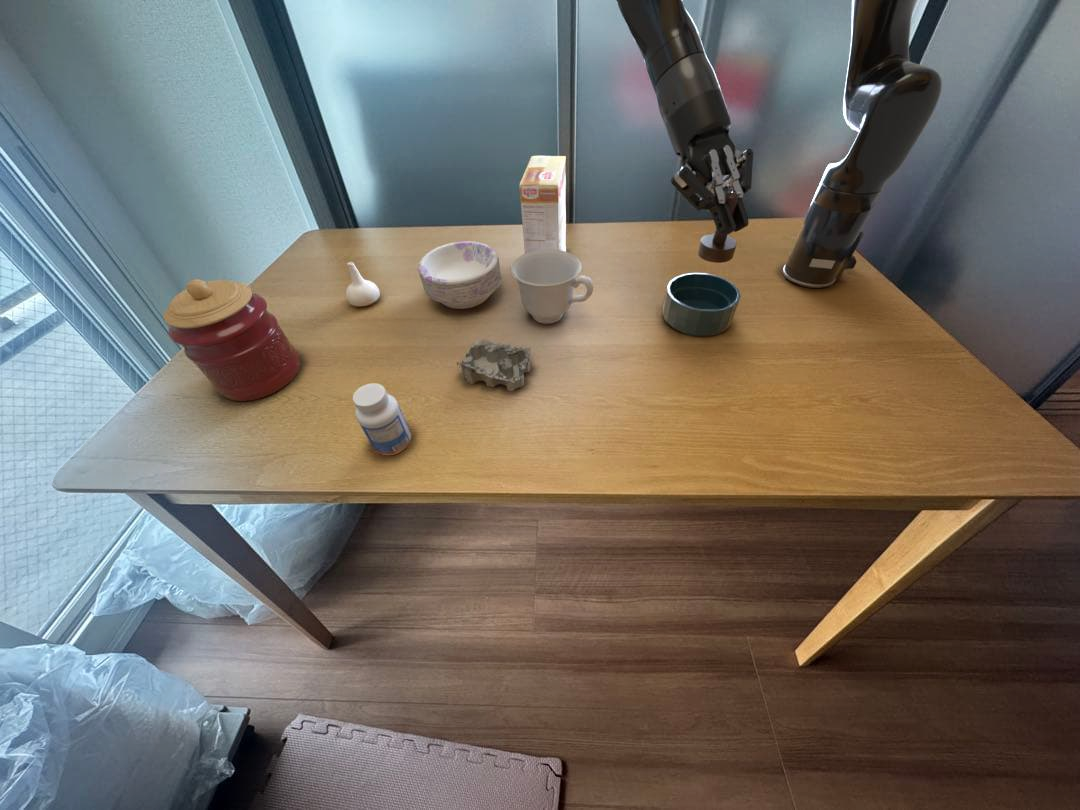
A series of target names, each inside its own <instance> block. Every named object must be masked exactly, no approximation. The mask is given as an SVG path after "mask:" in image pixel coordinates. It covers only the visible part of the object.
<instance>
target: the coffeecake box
mask: <svg viewBox="0 0 1080 810" xmlns="http://www.w3.org/2000/svg"><path fill="white" fill-rule="evenodd" d="M566 160H567V156H566V155H532V156H530V159H529V161H528V163H527V166H526V167H525V171H524V173H523V175H522V177H521V180H520V182H519V184H518V187H519V197H520V198H519V200H520V209H521V221H522V233H523V247H524V248H523V249H524V254H525V253H528V252H531V251H535V250H542V249H555V250H561V251H565V252H567V246H566V245H567V239H566V238H567V235H566V234H567V233H566V232H567V211H566V209H567V208H566V201H567V199H566V196H567V194H566V189H567V183H566V182H567V181H566V180H567V179H566V178H567V177H566V176H567V173H566V169H567V168H566Z"/></svg>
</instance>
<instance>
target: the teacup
mask: <svg viewBox="0 0 1080 810" xmlns="http://www.w3.org/2000/svg"><path fill="white" fill-rule="evenodd" d="M581 271H582V263H581V261H580V260H579V259H578V258H577V257H576V256H575V255H573V254H572V253H570V252H568V251H566V252H565V251H561V250H555V249H542V250H535V251H531V252H528V253H525V252H524V253H523V254H521V255H520V256H518V257H517V258H516V259H515V260H514V261H513V262H512V263H511V266H510V272H511V275H512V276H513V277H514V278H515V280H516V283H517V286H518V287H517V288H518V291H519V296H520V299H521V303H522V305H523V307H524V309H525V310H526V311H527V312H528V313H529V314H530V315H531V316H532V318H533V320H534V321H536V322H537V323H540V324H545V325H546V324H548V325H549V324H555V323H557V322H558V321H560V320H561V319H562V318H563V314H565V313H566V312H567V311H568V310H569V309H570V307H571V305H572V304H574V303H579V302H580V303H581V302H585V301H587V300H588V299H590V298H591V296H592V294H593V292H594V284H593V281H592V279H591V278H590V277H588V276H586V275H580V276H578V275H579V274H580V273H581ZM577 276H578V277H577ZM581 284H583V285H584V287H586V292H585V294H581V295H576V296H574V293H575V289H577V288H578V287H579V286H580V285H581Z"/></svg>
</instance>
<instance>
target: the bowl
mask: <svg viewBox="0 0 1080 810" xmlns="http://www.w3.org/2000/svg"><path fill="white" fill-rule="evenodd" d="M741 296H742V295H741V292H740V289H739V288H738V287H737V286H736V285H735V284H734V283H733V282H731V281H730V280H729V279H727V278H725V277H723V276H722V277H721V276H719V275H716V274H711V273H707V272H689V273H682V274H680V275H677V276H675V277H673V278H672V279H671V280H669V282H668V284H667V286H666V289H665V295H664V300H663V303H662V309H661V313H662V318H663V319H664V320H665V322H666V323H667V324H668V325H669V326H671V327H672V328H673V329H674V330H676V331H678V332H680V333H683V334H686V335H690V336H695V337H708V336H709V337H710V336H714V335H719V334H720V333H723V332H725V331H726V330H727V329H728V328H729V327H730V326H731V325H732V322H733V320H734V316H735V314H736V311H737V308H738V305H739V303H740V300H741Z"/></svg>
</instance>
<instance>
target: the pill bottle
mask: <svg viewBox="0 0 1080 810" xmlns="http://www.w3.org/2000/svg"><path fill="white" fill-rule="evenodd" d="M352 402H353V404H354V405H355V411H354V412H355V413H354V415H355V418H356V421H357V422H358V424H359V426H360V428H361V429H362V431H363V433H364V435H365V436H366V438H367V439H368V442H369V443H370V445H371V447H372V448H373V450H374V451H375V452H376V453H377V454H379V455H382V456H393V455H397V454H399V453H401V452H403V451H404V450H405V449H406V448H408V446H409V444H410V443H411V440H412V433H411V430H410V427H409V425H408V423H407V421H406V418H405V416H404V414H403V412H402V410H401V407H400V405H399V403H398V401H397V399H396V398H395V397H394V396H393V395H391V394H389V393H388V392H387V391H386V388H385V387H384V386H383V384H380V383H376V382H375V383H374V382H372V383H367V384H363V385H362V386H360V387H359V388H357V389H356V390H355V391H354V393H353V394H352Z"/></svg>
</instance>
